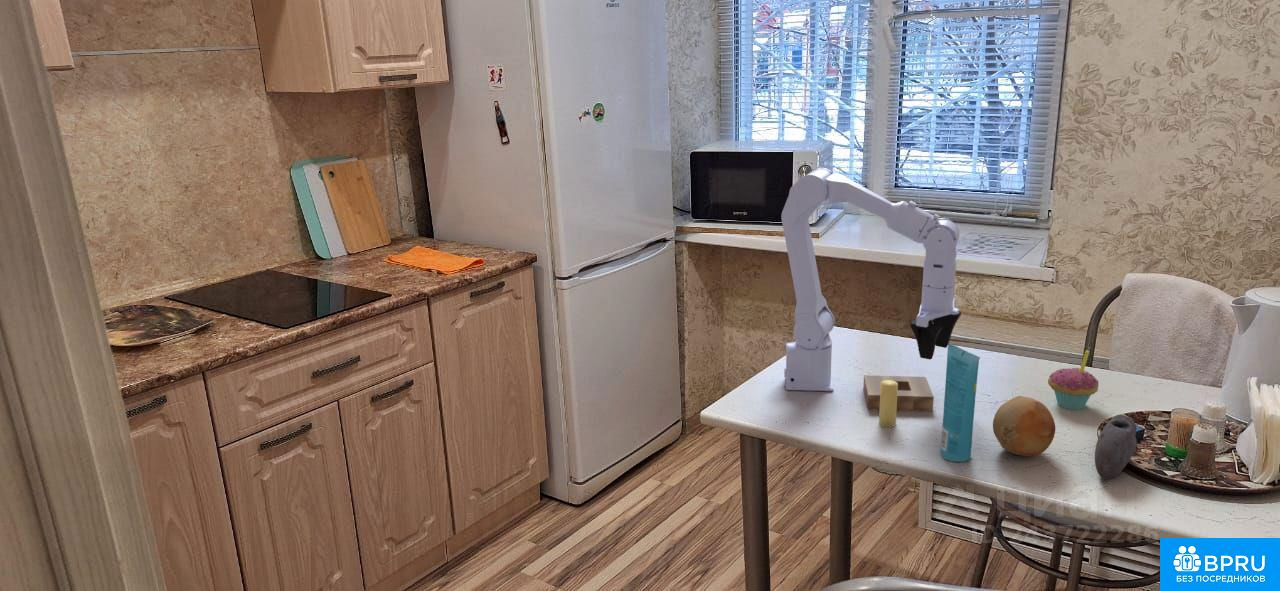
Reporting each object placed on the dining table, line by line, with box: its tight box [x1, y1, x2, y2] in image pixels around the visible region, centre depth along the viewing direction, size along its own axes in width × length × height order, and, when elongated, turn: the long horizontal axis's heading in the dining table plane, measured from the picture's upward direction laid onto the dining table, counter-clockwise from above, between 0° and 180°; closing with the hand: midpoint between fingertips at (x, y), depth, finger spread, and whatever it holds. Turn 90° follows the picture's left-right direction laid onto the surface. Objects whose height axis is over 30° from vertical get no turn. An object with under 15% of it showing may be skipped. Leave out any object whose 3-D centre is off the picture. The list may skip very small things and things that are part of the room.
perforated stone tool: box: [1094, 414, 1138, 480], centre depth 142 cm, size 15×5×7 cm, turn 140°
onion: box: [992, 395, 1056, 457], centre depth 147 cm, size 10×10×10 cm
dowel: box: [878, 380, 898, 427], centre depth 160 cm, size 3×3×8 cm
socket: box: [862, 374, 935, 412], centre depth 171 cm, size 12×10×3 cm
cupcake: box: [1047, 346, 1099, 411], centre depth 164 cm, size 9×8×12 cm
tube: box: [940, 342, 981, 463], centre depth 146 cm, size 7×5×19 cm, turn 26°
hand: (933, 352), depth 168 cm, fingers open, 7 cm apart
